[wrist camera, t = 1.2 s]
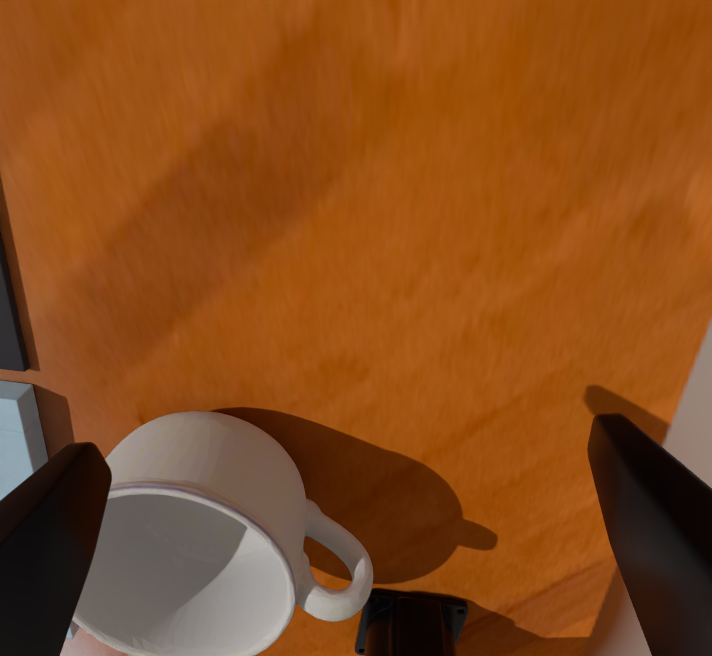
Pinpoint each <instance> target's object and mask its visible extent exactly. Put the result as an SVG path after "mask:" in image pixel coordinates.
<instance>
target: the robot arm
mask: <svg viewBox="0 0 712 656" xmlns="http://www.w3.org/2000/svg"><path fill="white" fill-rule="evenodd" d="M588 458H589V462H590V466H591V470H592V474H593V478H594V482H595V486H596V490H597V494H598V498H599V502H600V506H601V510H602V514H603V518H604V522H605V526H606V530H607V534H608V538H609V541H610V544H611V547H612V550H613V553H614V556H615V559H616V561H617V564H618V567H619V569H620V572H621V575H622V577H623V580H624V583H625V585H626V588H627V590H628V593H629V596H630V599H631V601H632V604H633V606H634V609H635V612H636V614H637V617H638V620H639V622H640V625H641V628H642V630H643V633H644V635H645V638H646V641H647V644H648V646H649V649H650V651H651V654H652V656H712V488H710V487H709V486H708V485H707V484H706V483H704V482H703V481H702V480H700V479H699V478H698V477H697V476H696V475H694V473H692V472H691V471H690V470H689V469H687V468H686V467H685V466H684V465H683V464H682V463H681V462H679V461H678V460H677V459H676V458H675V457H673V456H672V455H671V454H670V453H669V452H667V451H666V450H665V449H664V448H663V447H661V446H660V445H659V444H658V443H657V442H656V441H654V440H653V439H652V438H651V437H650V436H648V435H647V434H646V433H645V432H644V431H642V430H641V429H640V428H639V427H638V426H636V425H635V424H634V423H633V422H632V421H630V420H629V419H628V418H627V417H626V416H624V415H623V414H621V413H602V414H597V415H595V417H594V419H593V423H592V427H591V432H590V437H589V442H588ZM111 483H112V472H111V469H110V467H109V465H108V464H107V462H106V460H105V459H104V457H103V456H102V454H101V452H100V451H99V449H98V447H97V446H96V445H95V444H94V443H92V442H82V443H72V444H69V445H67V446H66V447H65V448H63V449H62V450H61V451H60V452H59V453H57V454H56V455H55V456H54V457H53V458H51V459H50V460H49V461H48V462H46V463H45V464H44V465H43V466H42V467H40V468H39V469H38V470H37V471H35V472H34V473H33V474H32V475H31V476H29V477H28V478H27V479H26V480H24V481H23V482H22V483H21V484H20V485H18V486H17V487H16V488H15V489H14V490H12V491H11V492H10V493H9V494H7V495H6V496H5V497H4V498H3V499H1V500H0V656H60V653H61V650H62V647H63V644H64V641H65V639H66V636H67V633H68V630H69V627H70V624H71V621H72V619H73V616H74V613H75V610H76V607H77V604H78V601H79V599H80V596H81V593H82V590H83V587H84V584H85V581H86V579H87V576H88V573H89V570H90V567H91V564H92V560H93V557H94V553H95V550H96V546H97V542H98V538H99V533H100V529H101V525H102V521H103V517H104V512H105V508H106V504H107V500H108V496H109V491H110V487H111ZM467 615H468V604H467V603H466V602H464V601H460V600H452V599H444V598H435V597H427V596H419V595H411V594H403V593H395V592H386V591H378V590H371V592H370V595H369V598H368V600H367V602H366V603H365V605H364V606H363V609H362V614H361V618H360V623H359V628H358V633H357V638H356V642H355V652H356V653H357V654H359V655H365V656H456V648H455V647H456V644H457V642H458V639H459V636H460V634H461V631H462V628H463V625H464V623H465V620H466V617H467Z"/></svg>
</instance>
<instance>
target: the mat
mask: <svg viewBox="0 0 712 656" xmlns="http://www.w3.org/2000/svg"><path fill="white" fill-rule="evenodd" d="M28 368H29V365H28V360H27V356H26V351H25V346H24V342H23V337H22V332H21V328H20V323H19V318H18V314H17V309H16V304H15V300H14V295H13V290H12V286H11V281H10V276H9V272H8V267H7V262H6V258H5V253H4V248H3V244H2V239H1V234H0V369H7V370H15V371H23V372H25V371H26V370H27V369H28Z"/></svg>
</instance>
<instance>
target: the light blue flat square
mask: <svg viewBox="0 0 712 656" xmlns="http://www.w3.org/2000/svg"><path fill="white" fill-rule="evenodd" d="M48 461H49V460H48V455H47V450H46V446H45V441H44V436H43V432H42V427H41V422H40V418H39V412H38V408H37V403H36V398H35V394H34V389H33V385H32V384H25V383H17V382H9V381H2V380H0V500H1V499H3V498H4V497H5V496H6V495H7V494H9V493H10V492H11V491H12V490H14V489H15V488H16V487H17V486H18V485H20V484H21V483H22V482H23V481H24V480H26V479H27V478H28V477H29V476H31V475H32V474H33V473H34V472H35V471H37V470H38V469H39V468H40V467H42V466H43V465H44V464H45V463H46V462H48ZM78 628H79V626H78V625H77V624H76V623H75V622H74V621H73V620H72V621H71V624H70V627H69V630H68V633H67V636H66V638H71V639H73V638H74V636H75V634H76V632H77V630H78Z"/></svg>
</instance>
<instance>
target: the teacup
mask: <svg viewBox="0 0 712 656" xmlns="http://www.w3.org/2000/svg"><path fill="white" fill-rule="evenodd" d="M105 460H106V462H107V464H108V465H109V467H110V469H111V472H112V483H111V487H110V491H109V496H108V500H107V504H106V508H105V512H104V517H103V521H102V525H101V529H100V533H99V538H98V542H97V546H96V550H95V553H94V557H93V560H92V564H91V567H90V570H89V573H88V576H87V579H86V581H85V584H84V587H83V590H82V593H81V596H80V599H79V601H78V604H77V607H76V610H75V613H74V616H73V619H72V620H73V621H74V622H75V623H76V624H77V625H78V626H80V627H81V628H82V629H84V630H85V631H86V632H88V633H89V634H91V635H92V636H94V637H95V638H97V639H98V640H100V641H101V642H103V643H104V644H106V645H108V646H110V647H112V648H114V649H116V650H118V651H121V652H124V653H127V654H129V655H131V656H255V655H257V654H258V653H259V652H261V651H263V650H265V649H267V648H268V647H269V646H270V645H272V644H273V643H274V642H275V641H276V640H277V639H278V637H279V636H280V635H281V634H282V633H283V631H284V630H285V628H286V627H287V625H288V623H289V622H290V620H291V618H292V615H293V612H294V609H295V606H296V603H297V604H298V605H299V606H300V607H301V608H302V609H303V610H305V611H306V612H308V613H309V614H311V615H312V616H314V617H315V618H319V619H322V620H325V621H335V622H336V621H342V620H345V619H348V618H351V617H352V616H354V615H355V614H356V613H357V612H359V611H360V610H361V609H362V607H363V606H364V605H365V603H366V602H367V600H368V598H369V595H370V592H371V589H372V583H373V568H372V563H371V560H370V557H369V555H368V553H367V551H366V550H365V548H364V547H363V545H362V544H361V543H360V542H359V541H358V540H357V539H356V538H355V537H354V536H353V535H352V534H351V533H350V532H349V531H347V530H346V529H345V528H344V527H342V526H341V525H339V524H338V523H336V522H335V521H333V520H332V519H330V518H329V517H327V516H325V515H324V514H322V512H321V510H320V509H319V507H318V506H317V504H316V503H315V502H313V501H312V500H309V499H306V495H305V490H304V485H303V482H302V479H301V476H300V473H299V471H298V469H297V467H296V465H295V463H294V462H293V460H292V459H291V457H290V456H289V455H288V453H287V452H286V451H285V449H284V448H283V447H282V446H281V445H280V444H279V443H278V442H277V441H276V440H275V439H273V438H272V437H271V436H270V435H268V434H267V433H266V432H264V431H263V430H261V429H260V428H258V427H256V426H254V425H253V424H251V423H248V422H246V421H244V420H241V419H239V418H236V417H233V416H230V415H226V414H222V413H216V412H209V411H185V412H179V413H173V414H168V415H165V416H162V417H159V418H156V419H154V420H152V421H150V422H147V423H146V424H144V425H142V426H140V427H139V428H137V429H136V430H134V431H133V432H131V433H130V434H129V435H128V436H127V437H125V438H124V439H123V440H122V441H121V442H120V443H119V444H118V445H117V446H116V447H115V448H114V449H113V451H112V452H111V453H110V454H109V455H108V456H107V458H106V459H105ZM305 536H308V537H310V538H312V539H314V540H316V541H318V542H319V543H321V544H323V545H324V546H326V547H327V548H328V549H330V550H331V551H332V552H334V553H335V554H336V555H337V556H338V557H339V558H340V559H341V560H342V561H343V562H344V564H345V565H346V566H347V568H348V569H349V571H350V573H351V576H352V582H351V584H350V585H349V586H348V587H347V588H346V589H343V590H331V589H328V588H326V587H324V586H321V585H320V584H319V583H318V582H317V581H316V579H315V578H314V576H313V574H312V572H311V569H310V564H309V558H308V556H307V555H306V554H305V553H304V550H303V546H304V539H305Z"/></svg>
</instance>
